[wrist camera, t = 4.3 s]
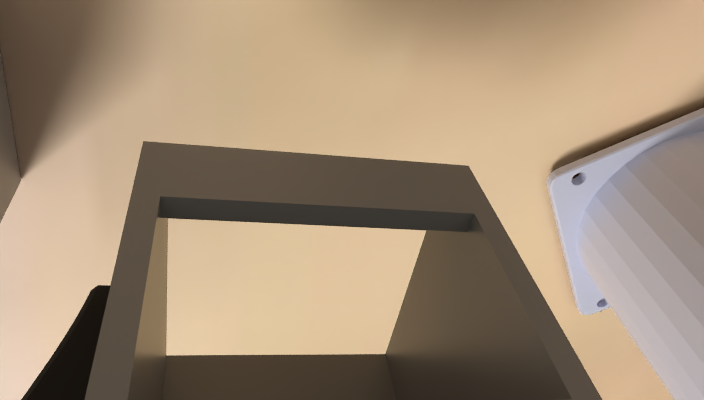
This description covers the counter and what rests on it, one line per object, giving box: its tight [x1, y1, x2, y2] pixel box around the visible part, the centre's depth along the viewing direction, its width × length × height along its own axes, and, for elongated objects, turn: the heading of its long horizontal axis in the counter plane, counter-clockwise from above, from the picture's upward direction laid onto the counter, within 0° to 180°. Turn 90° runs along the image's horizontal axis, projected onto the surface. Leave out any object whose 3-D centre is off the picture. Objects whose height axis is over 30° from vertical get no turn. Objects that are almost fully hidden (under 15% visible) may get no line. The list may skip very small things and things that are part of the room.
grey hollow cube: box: [85, 141, 602, 400], centre depth 10 cm, size 6×6×6 cm
